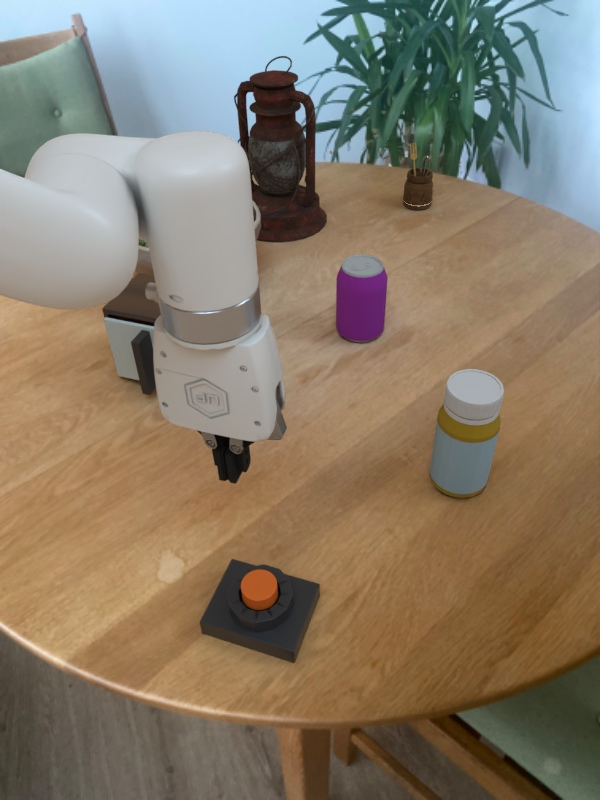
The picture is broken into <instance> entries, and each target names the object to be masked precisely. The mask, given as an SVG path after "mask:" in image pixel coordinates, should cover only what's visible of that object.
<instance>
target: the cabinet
mask: <svg viewBox="0 0 600 800" xmlns="http://www.w3.org/2000/svg"><path fill="white" fill-rule="evenodd" d="M150 282H151V283H156V282H155V277H154V276H153V275H147V274H141V273H138V274H137V273H136V275H135V276H133V277H132V278H131V280H130V282H129V284H128V285H127V287H126V288H125V289H124V290H123V291H122V292H121V293H120V294H119V295H118V296H117V297H115V298H114V299H112V300H111V301H109V302H107V303H105V304H104V306H103V307H102V308H101V310H102V314H103V319H104V318H105V317H108V318H113V319H118V320H123V321H128V322H133V323H138V324H144V325H149V326H154V324H155V321H156V319H157V318H158V317H159V316H160V315H161V313H160V308H159V304H158V303H157V302H155V301H154V300H150V299H147V298H146V295H145V289H146V286H147V284H148V283H150ZM124 378H126V377H124ZM126 379H127V378H126ZM133 380H135V379H133ZM135 381H136V380H135Z"/></svg>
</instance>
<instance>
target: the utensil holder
mask: <svg viewBox="0 0 600 800" xmlns="http://www.w3.org/2000/svg"><path fill="white" fill-rule="evenodd" d="M417 149H418V148H417V142H416V141H415V142H412V143H409V157H410V160H411V161H412V166H413V167H412V168H410V169H408V171H407V173H406V180H405V182H404V187H403V198H402V199H403V200H404V201H405V202H406V203H408V204H412V205H424V204H428V203H430V202H431V201H433V193H434V182H433V177H434V175H433V171H432V168H431V167H432V162H429V166H428V168H426V167H423V161H424V160H425V159H426V158H427V159H426V160H425V166H427V163H428V160H429V161H433V159H432V158H431V156H429V155H424V156H423V157H422V158H421V159H420V161H419V164H420V165H419V166H418V167H416V160H417V159H418V150H417ZM403 200H402V201H403ZM404 201H403V206H404V207H405V208H407V209H409V210H412V211H423V210H426V209H428V208H430V207H431V205H432V202H431V203H430V204H429V205H426V206H420V207H417V206H411V205H408V204H406V203H405V202H404Z"/></svg>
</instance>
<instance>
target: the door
mask: <svg viewBox="0 0 600 800" xmlns="http://www.w3.org/2000/svg"><path fill="white" fill-rule="evenodd" d="M103 324H104V326H105V330H106V331H105V332H106V335H107V339H108V342H109V346H110V350H111V354H112V357H113V362H114V366H115V370H116V374H117V377H121V378H125V377H126V379H130V380H134V379H135V381H139V384H140V389H141V393H142V395H145V396H151V395H152V393H153V392H154V391H155V390H156V384H155V375H154V361H153V340H154V326H149V325H144V324H138V323H133V322H128V321H123V320H118V319H113V318H108V317H105V318H104V317H103Z"/></svg>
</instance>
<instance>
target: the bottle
mask: <svg viewBox="0 0 600 800" xmlns="http://www.w3.org/2000/svg"><path fill="white" fill-rule="evenodd" d="M504 395H505V388H504V385H503V383H502V381H501V380H500V378H498V377H497V376H496V375H494V374H493V373H490V372H488V371H486V370H481V369H477V368H476V369H475V368H466V369H461V370H457V371H455V372H454V373H452V374H451V375H450V376H449V377H448V379H447V381H446V384H445V391H444V396H443V397H444V398H443V403H442V404H441V406H440V408H439V409H438V414H437V419H436V423H435V431H434V437H433V444H432V449H431V450H432V452H431V457H430V465H429V473H428V474H429V479H430V481H431V483H432V484H433V486H434V487H435V488H436V489H437V490H439V491H440V492H442V493H443V494H444V495H447V496H449V497H452V498H456V499H467V498H471V497H474V496H476V495H479V494H480V493H481V492H483V491H484V490H485V488H486V486H487V483H488V481H489V476H490V472H491V468H492V464H493V459H494V455H495V452H496V447H497V442H498V438H499V434H500V430H501V422H502V421H501V420H502V419H501V416H500V410H501V407H502V403H503V400H504Z"/></svg>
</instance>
